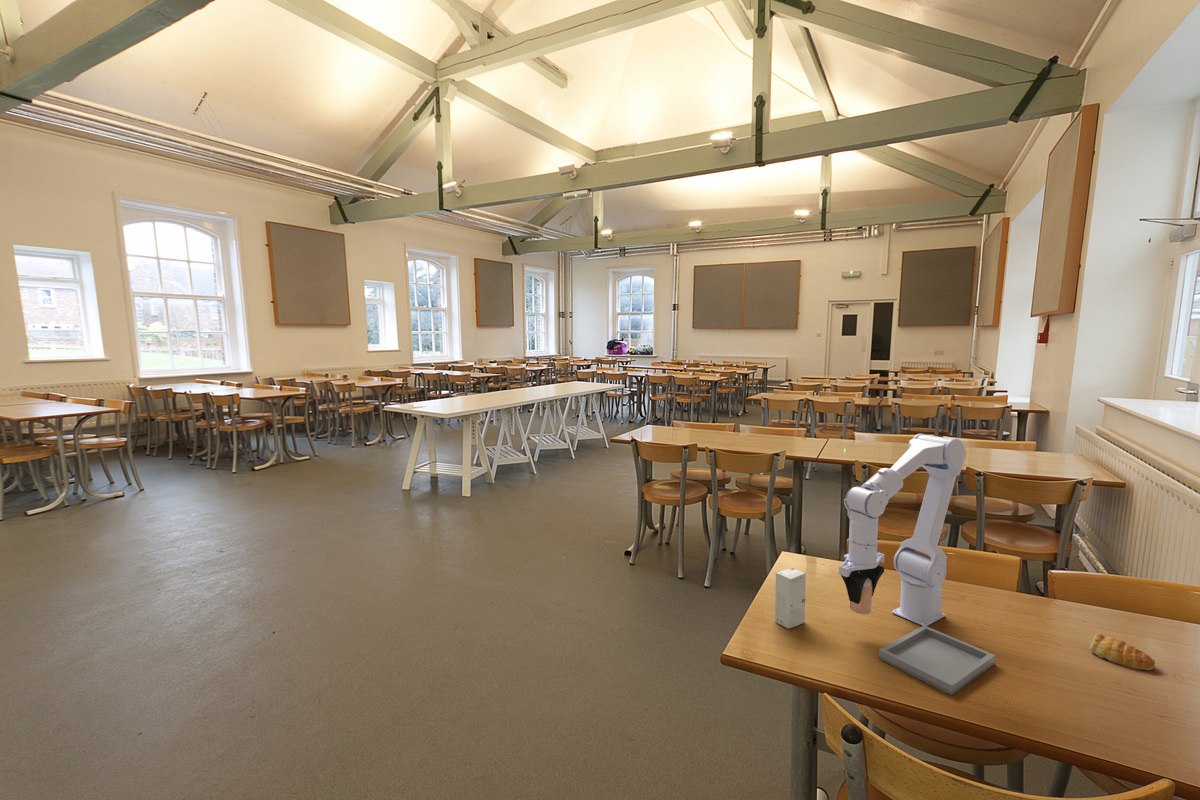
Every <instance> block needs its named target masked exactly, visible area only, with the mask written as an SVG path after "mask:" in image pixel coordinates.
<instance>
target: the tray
mask: <svg viewBox="0 0 1200 800" xmlns="http://www.w3.org/2000/svg"><path fill="white" fill-rule="evenodd" d="M878 660H880V661H882V662H884V663H886V664H888V665H890V666H892V667H894V668H895V669H898V670H900V671H902V672H904V673H906V674H908V675H909V676H912V677H914V678H916V679H918V680H920V681H921V682H924V683H926V684H927V685H930V686H932V687H934V688H936V689H937V690H940V691H942V692H944V693H945V694H947V693H948V695H949V694H950V696H951V695H952V696H953V695H955V694H956V693H958V692H959V691H961V690H962V689H963V688H964V687H966V686H967V685H968V684H970V683H971V682H973V681H974V680H975V679H977V678H978V677H980V676H981V675H982V674H984V673H985V672H986V671H988V670H989V669H991V668H992V667H994V665H996V654H994V653H993V652H992V653H991V652H989V651H986V650H984V649H982V648H979V647H977V646H974V645H972V644H970V643H968V642H965V641H963V640H960V639H958V638H955V637H953V636H951V635H948V634H947V633H943V632H941V631H939V630H936V629H934V628H931V627H929V626H925V625H923V626H922V625H921V626H920V627H918V628H916V629H915V630H914V629H913V631H911V632H909V633H907V634H906V635H903V636H901V637H900V638H898V639H896V640H894V641H893V642H891V643H889V644H887V645H885V646H883V647H882V648H880V649H879V650H878Z"/></svg>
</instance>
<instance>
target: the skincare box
mask: <svg viewBox="0 0 1200 800" xmlns="http://www.w3.org/2000/svg"><path fill="white" fill-rule="evenodd" d="M774 595H775V597H774V598H775V600H774V601H775V602H774V604H775V605H774V622H775V623H776V624H778V625H781V626H782V627H784V628H786V629H792V628H794V627H797V626H800V625H801V624H804V623H805V622H806V621H805V620H806V619H805V618H806V612H805V611H806V573H805V572H803V571H801V570H798V569H795V568H794V567H793V568H792V567H791V568H790V567H789V568H787V569H782V570H781V571H779V572H775V594H774Z"/></svg>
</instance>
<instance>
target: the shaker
mask: <svg viewBox="0 0 1200 800" xmlns="http://www.w3.org/2000/svg"><path fill="white" fill-rule="evenodd" d="M872 599H873V596H872V584H871V580H870V579H869V578H867V579H866V581H865V583H864V586H863V589H862V595H861V600H860V603H859V604H856V603H854V602H852V601H850V600H849V610H851V611H852V612H854V613H856V614H859V615H860V614H861V615H869V614H871V613H872V607H873V606H872V605H873V604H872V601H873V600H872Z"/></svg>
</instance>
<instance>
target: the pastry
mask: <svg viewBox="0 0 1200 800" xmlns="http://www.w3.org/2000/svg"><path fill="white" fill-rule="evenodd" d="M1089 650H1090V652H1092V653H1093V654H1094V653H1095V654H1096V655H1095V654H1094V655H1095V656H1097V655H1098V656H1097V657H1099V658H1101V659H1102V658H1104V659H1107V660H1108V661H1109V662H1112V663H1113V664H1118V665H1121V666H1123V667H1128V668H1131V669H1134V670H1143V671H1147V670H1148V671H1151V670H1152V671H1153V670H1154V668H1155V664H1156V661H1155V660H1154V659H1153V658H1152V657H1151V656H1150V655H1148V654H1147V653H1144V651H1142V650H1140V649H1138V648H1136V647H1135V646H1133V645H1131V644H1128V643H1126V642H1125V641H1124V640H1122V639H1120V640H1119V639H1116V637H1113V636H1110V635H1109V636H1105V635H1103V634H1101V633H1096V634H1095V635H1094V637H1092V641H1091V643H1090V646H1089Z"/></svg>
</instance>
